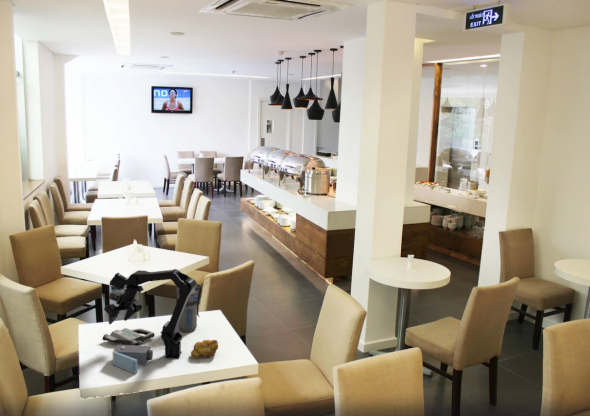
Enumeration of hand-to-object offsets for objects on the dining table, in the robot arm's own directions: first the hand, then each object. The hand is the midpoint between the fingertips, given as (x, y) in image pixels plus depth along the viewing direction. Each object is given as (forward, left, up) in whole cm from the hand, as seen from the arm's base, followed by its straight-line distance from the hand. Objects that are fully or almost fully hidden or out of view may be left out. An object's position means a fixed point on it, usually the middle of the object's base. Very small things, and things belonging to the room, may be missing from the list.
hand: (117, 322), depth 239 cm
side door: (-10, +20, -13) cm, 26 cm away
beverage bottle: (-29, -26, -14) cm, 41 cm away
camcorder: (-4, -8, -14) cm, 17 cm away
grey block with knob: (-11, +12, -13) cm, 21 cm away
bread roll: (-42, +3, -14) cm, 44 cm away
